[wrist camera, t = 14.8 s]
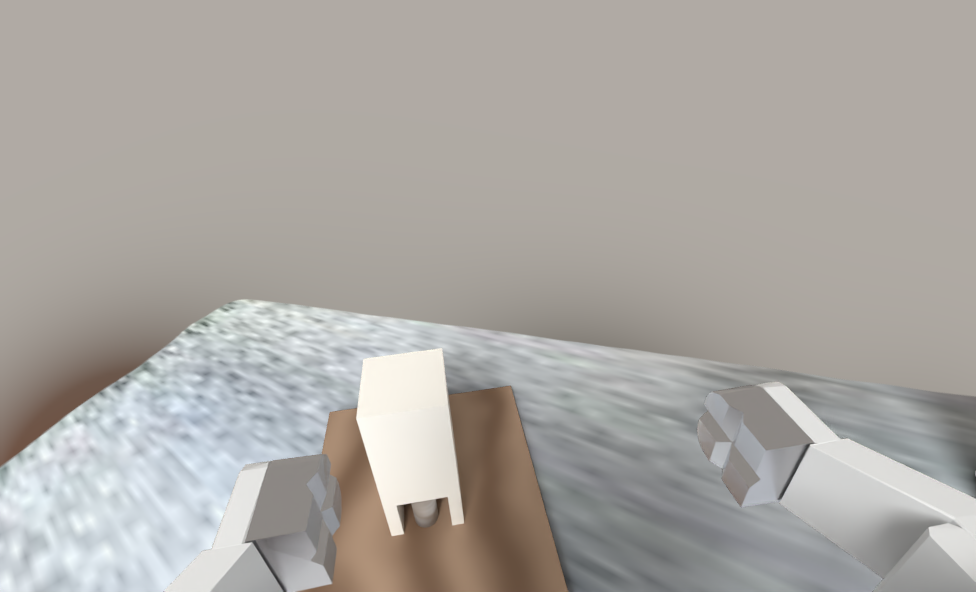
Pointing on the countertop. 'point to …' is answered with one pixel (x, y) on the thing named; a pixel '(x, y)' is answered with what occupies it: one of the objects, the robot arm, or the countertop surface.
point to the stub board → (447, 512)
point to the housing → (409, 432)
